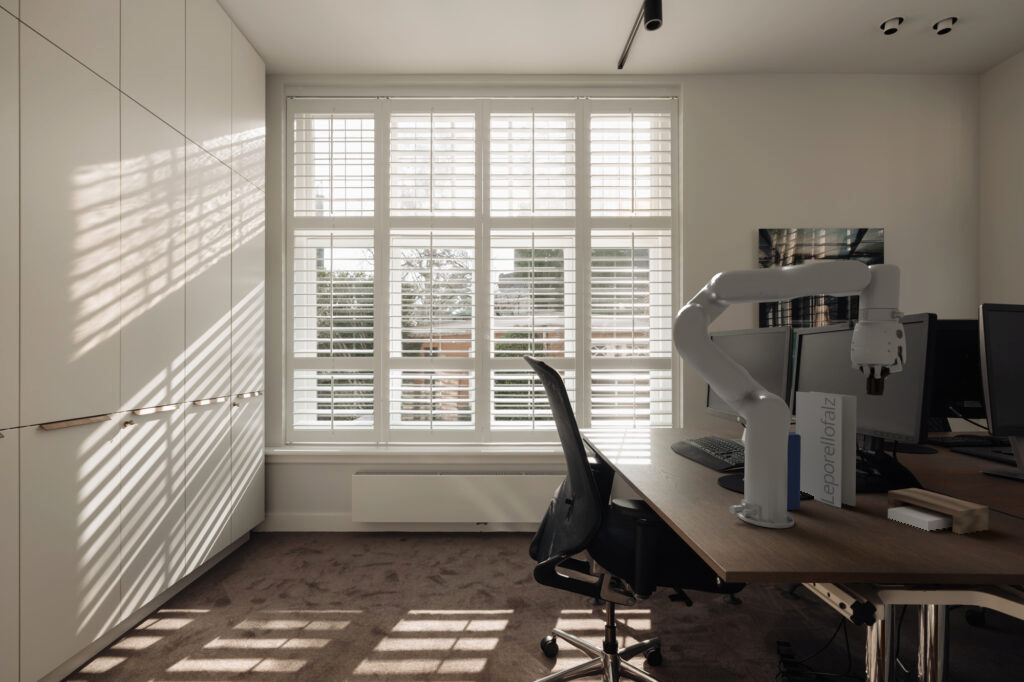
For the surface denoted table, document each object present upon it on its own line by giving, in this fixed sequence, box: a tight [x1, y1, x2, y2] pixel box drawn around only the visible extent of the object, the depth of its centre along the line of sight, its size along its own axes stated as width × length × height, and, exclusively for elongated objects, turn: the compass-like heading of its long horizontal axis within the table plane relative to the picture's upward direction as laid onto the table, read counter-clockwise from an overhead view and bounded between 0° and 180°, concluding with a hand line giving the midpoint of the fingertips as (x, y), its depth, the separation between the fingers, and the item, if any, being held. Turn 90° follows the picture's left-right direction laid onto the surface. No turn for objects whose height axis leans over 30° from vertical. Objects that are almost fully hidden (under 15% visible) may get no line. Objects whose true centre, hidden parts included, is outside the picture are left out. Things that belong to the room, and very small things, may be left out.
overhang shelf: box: [887, 487, 990, 535], centre depth 123 cm, size 10×16×6 cm, turn 19°
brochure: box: [795, 390, 858, 509], centre depth 139 cm, size 14×6×30 cm, turn 18°
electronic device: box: [787, 431, 801, 511], centre depth 133 cm, size 10×5×20 cm, turn 9°
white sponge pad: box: [887, 505, 953, 532], centre depth 122 cm, size 14×9×2 cm, turn 109°
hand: (874, 394), depth 115 cm, fingers closed
